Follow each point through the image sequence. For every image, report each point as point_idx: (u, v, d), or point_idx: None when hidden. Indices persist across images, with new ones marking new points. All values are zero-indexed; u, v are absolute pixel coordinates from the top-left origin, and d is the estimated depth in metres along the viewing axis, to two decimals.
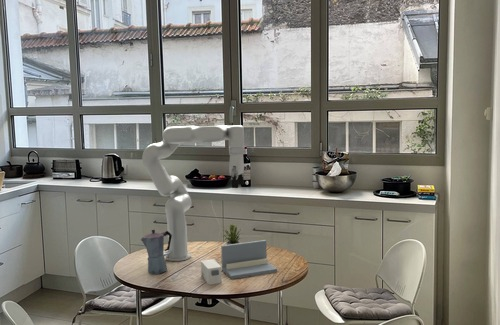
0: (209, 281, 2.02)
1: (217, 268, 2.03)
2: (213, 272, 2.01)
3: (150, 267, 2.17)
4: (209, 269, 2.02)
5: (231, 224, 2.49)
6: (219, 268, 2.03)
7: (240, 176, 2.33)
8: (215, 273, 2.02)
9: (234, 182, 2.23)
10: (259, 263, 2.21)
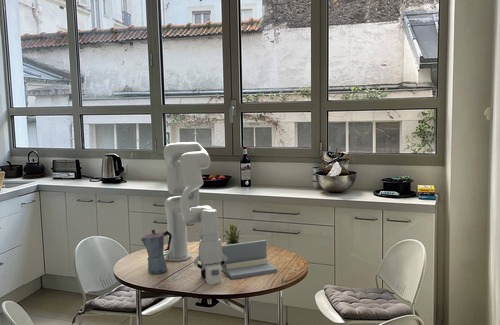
0: (209, 281, 2.02)
1: (217, 268, 2.03)
2: (213, 272, 2.01)
3: (150, 267, 2.17)
4: (209, 269, 2.01)
5: (231, 224, 2.49)
6: (219, 268, 2.03)
7: (204, 267, 2.07)
8: (215, 273, 2.02)
9: None
10: (259, 263, 2.21)
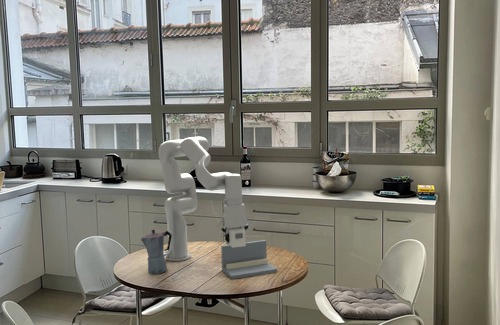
0: (233, 244, 2.05)
1: (241, 231, 2.05)
2: (237, 235, 2.04)
3: (150, 267, 2.17)
4: (233, 232, 2.04)
5: None
6: (243, 232, 2.06)
7: None
8: (239, 236, 2.04)
9: None
10: (259, 263, 2.21)
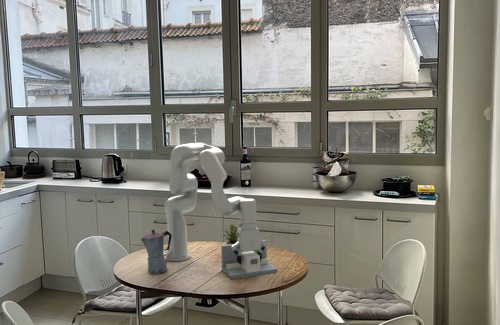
0: (248, 269, 2.11)
1: (256, 257, 2.11)
2: (252, 261, 2.10)
3: (150, 267, 2.17)
4: (248, 258, 2.10)
5: (231, 224, 2.49)
6: (258, 257, 2.12)
7: None
8: (254, 262, 2.10)
9: None
10: None
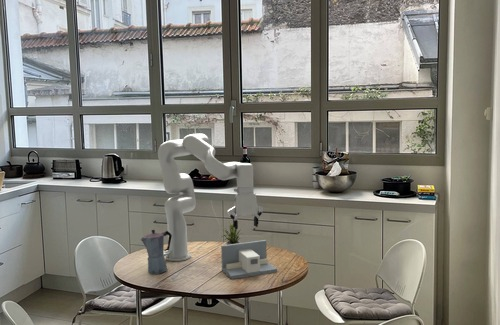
0: (248, 269, 2.11)
1: (256, 257, 2.11)
2: (252, 261, 2.10)
3: (150, 267, 2.17)
4: (248, 258, 2.10)
5: (231, 224, 2.49)
6: (258, 257, 2.12)
7: None
8: (254, 262, 2.10)
9: None
10: None
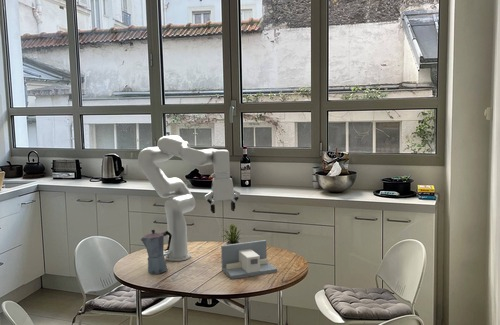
0: (248, 269, 2.11)
1: (256, 257, 2.11)
2: (252, 261, 2.10)
3: (150, 267, 2.17)
4: (248, 258, 2.10)
5: (231, 224, 2.49)
6: (258, 257, 2.12)
7: None
8: (254, 262, 2.10)
9: None
10: None
